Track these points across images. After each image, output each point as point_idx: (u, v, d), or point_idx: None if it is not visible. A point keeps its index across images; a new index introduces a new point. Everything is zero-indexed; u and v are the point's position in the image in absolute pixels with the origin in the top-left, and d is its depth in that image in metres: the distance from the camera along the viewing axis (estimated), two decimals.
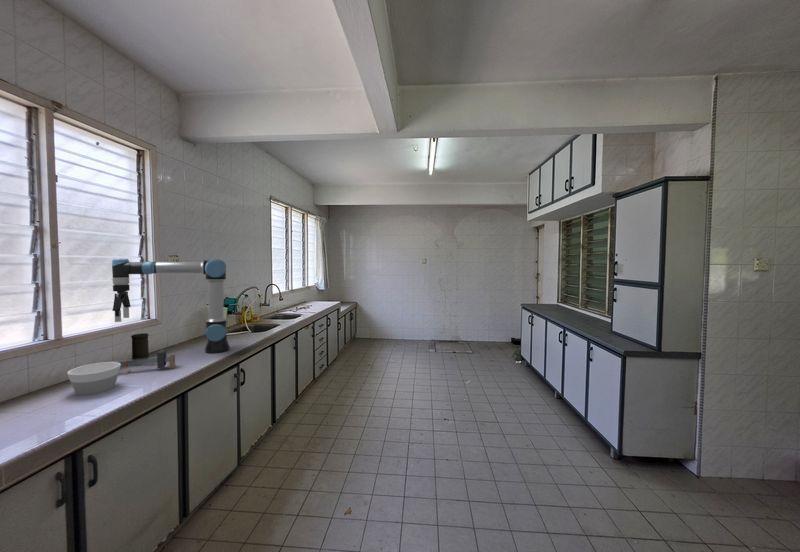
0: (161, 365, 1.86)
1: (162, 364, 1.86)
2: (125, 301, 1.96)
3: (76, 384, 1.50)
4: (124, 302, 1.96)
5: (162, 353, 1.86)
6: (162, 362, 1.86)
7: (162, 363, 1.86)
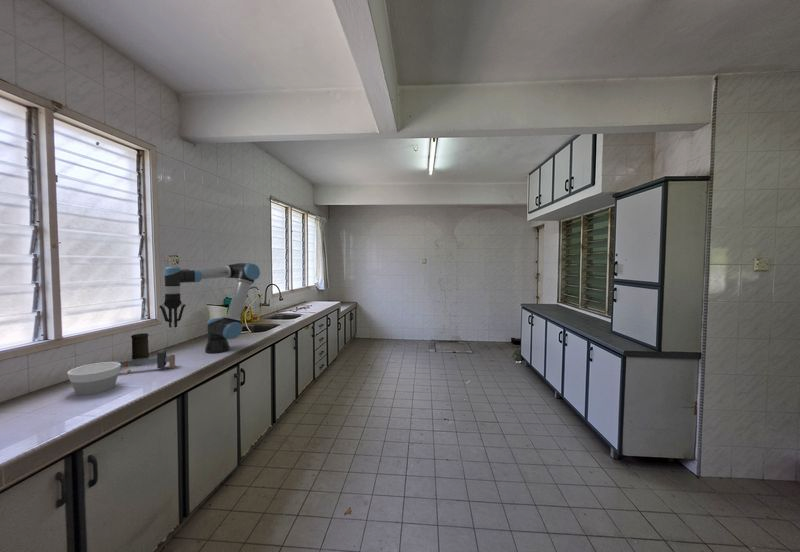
0: (161, 365, 1.86)
1: (162, 364, 1.86)
2: (174, 312, 1.90)
3: (76, 384, 1.50)
4: (174, 314, 1.91)
5: (162, 353, 1.86)
6: (162, 362, 1.86)
7: (162, 363, 1.86)
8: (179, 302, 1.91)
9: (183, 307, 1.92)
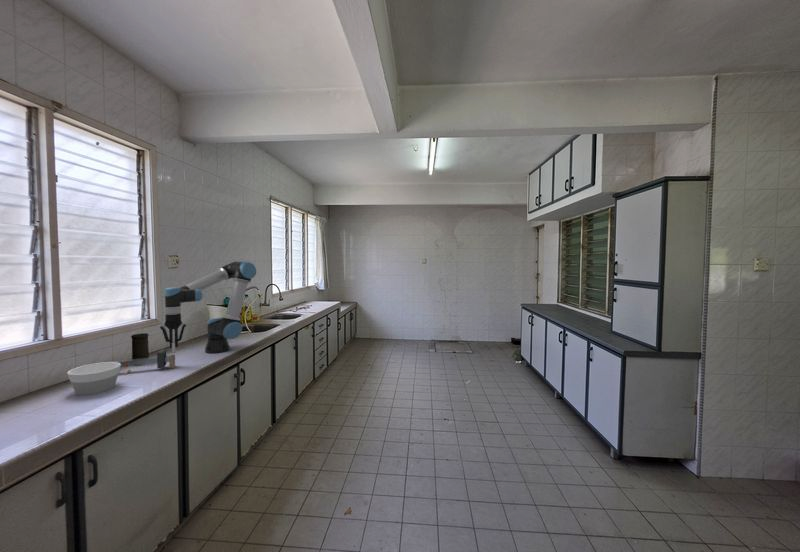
0: (161, 365, 1.86)
1: (162, 364, 1.86)
2: None
3: (76, 384, 1.50)
4: (175, 334, 1.91)
5: (162, 353, 1.86)
6: (162, 362, 1.86)
7: (162, 363, 1.86)
8: (180, 322, 1.91)
9: (184, 327, 1.92)
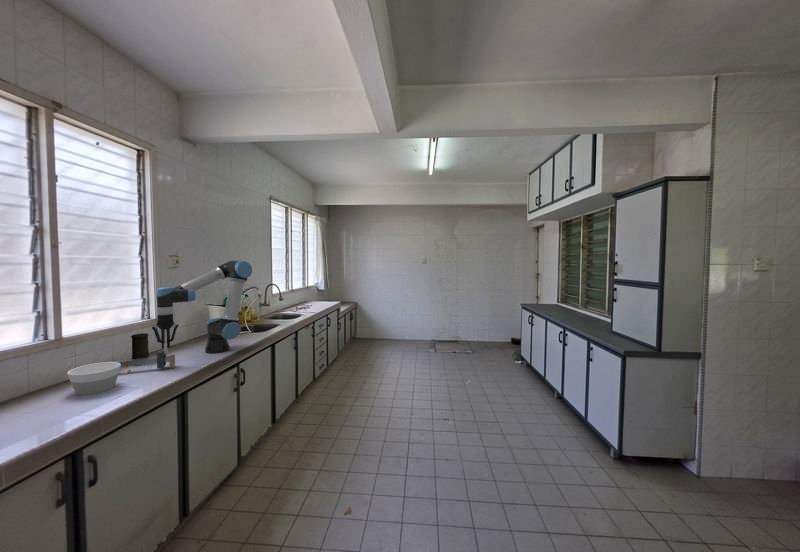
0: (161, 365, 1.86)
1: (162, 364, 1.86)
2: None
3: (76, 384, 1.50)
4: (167, 334, 1.90)
5: (162, 353, 1.86)
6: (162, 362, 1.86)
7: (162, 363, 1.86)
8: (172, 323, 1.89)
9: (176, 327, 1.90)
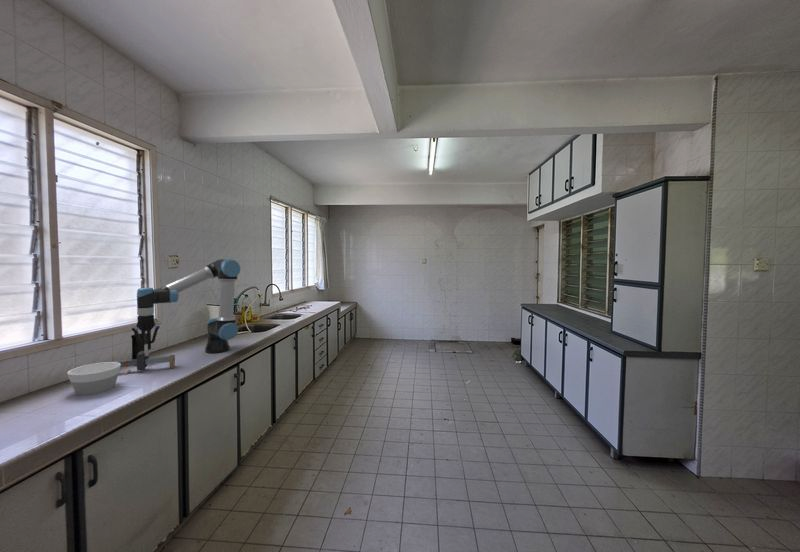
0: (141, 367, 1.82)
1: (142, 366, 1.82)
2: None
3: (76, 384, 1.50)
4: None
5: (142, 355, 1.82)
6: (142, 364, 1.82)
7: (142, 365, 1.82)
8: (153, 324, 1.85)
9: (157, 329, 1.86)
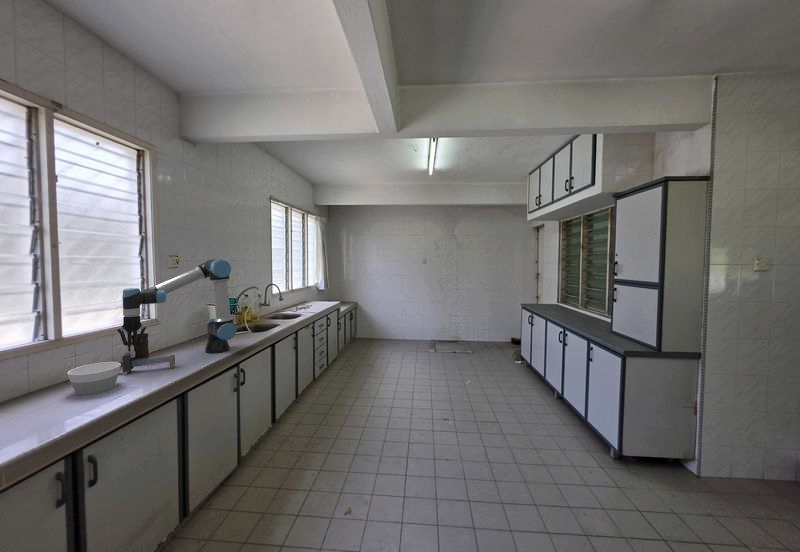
0: (127, 369, 1.79)
1: (128, 368, 1.79)
2: None
3: (76, 384, 1.50)
4: None
5: (128, 356, 1.79)
6: (128, 366, 1.79)
7: (128, 367, 1.79)
8: (139, 325, 1.83)
9: (143, 330, 1.83)
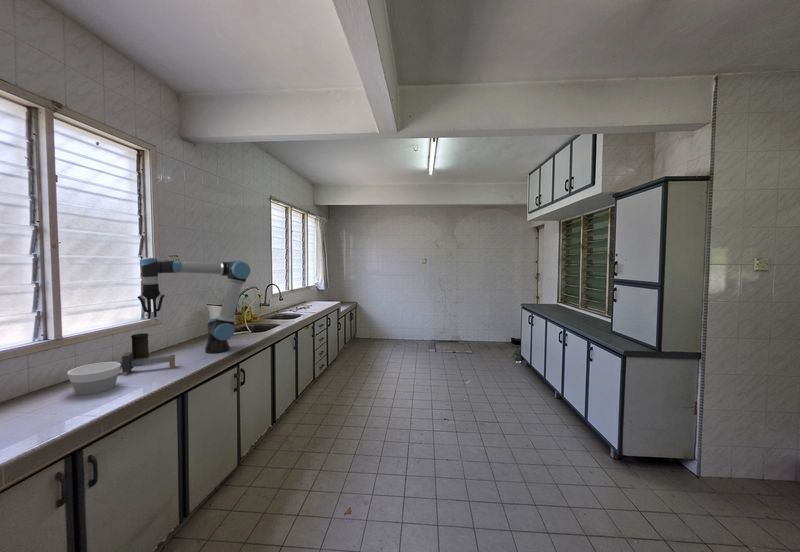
0: (126, 369, 1.79)
1: (127, 368, 1.79)
2: (153, 303, 1.91)
3: (76, 384, 1.50)
4: (153, 304, 1.91)
5: (127, 356, 1.79)
6: (127, 366, 1.79)
7: (127, 367, 1.79)
8: (158, 292, 1.91)
9: (162, 297, 1.92)
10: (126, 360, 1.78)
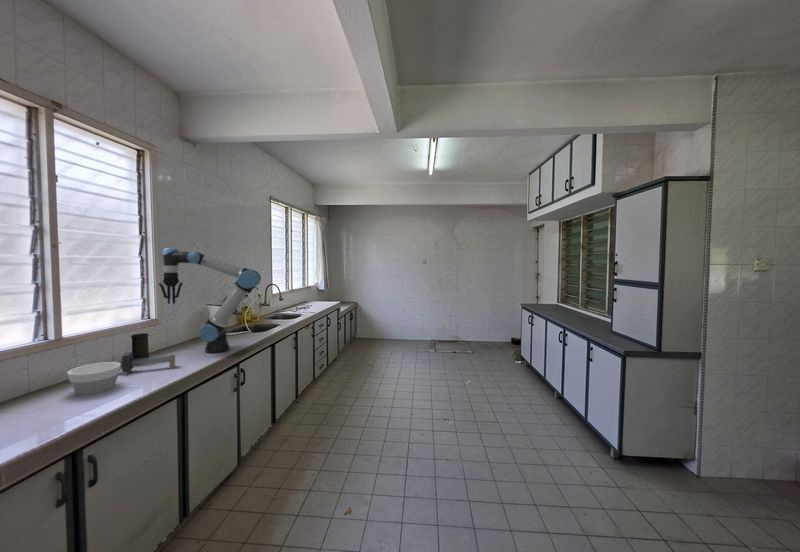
0: (126, 369, 1.79)
1: (127, 368, 1.79)
2: (172, 290, 2.07)
3: (76, 384, 1.50)
4: None
5: (127, 356, 1.79)
6: (127, 366, 1.79)
7: (127, 367, 1.79)
8: (177, 280, 2.08)
9: (180, 285, 2.09)
10: (126, 360, 1.78)
